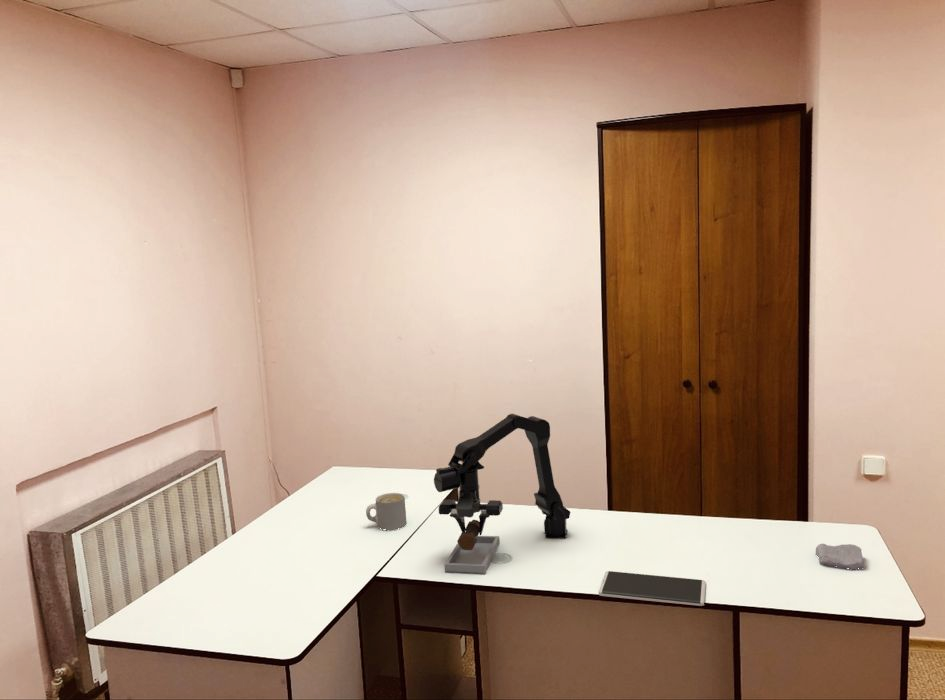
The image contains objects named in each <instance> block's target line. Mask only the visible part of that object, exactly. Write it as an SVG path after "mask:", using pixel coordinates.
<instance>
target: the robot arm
mask: <svg viewBox="0 0 945 700" xmlns="http://www.w3.org/2000/svg"><path fill="white" fill-rule="evenodd" d="M518 429H520V430H524V433H525V436H526V438H527V440H528V441H529V443H530V444H531V446H532V447H531V448H532V452H533V458H534V464H535V469H536V475H537V480H538V481H537V482H538V490H537V492H534V493H533V496H534V499H535V504H534V505H536V506H537V508H538V509H539V510H540V511H541V513H542V514H543V515H545V518H544V521H543V527H544V528H543V529H544V534H545V538H547V539H549V538H551V539H553V538H554V539H566V537H567V536H568V535H567V534H568V528H567V520H568V519H570V516H571V511H570V510H569V509H567V508H566V507H565V506H564V503H563V499H562V497H561V495H560V493H559V491H558V489H557V488H556V487H555V482H554V476H553V475H554V474H553V469H552V464H551V458H550V452H549V440H550V437H551V426H550V423H549V421H548V420H546V419H543V418H540V417H537V416H534V415H533V416H532V415H531V416H528V417H525V416H520V414H519V415H518V414H515V413H509V414H508V415H507V416H506V417H505V418H504V419H501V420H500V421H499V422H498V423H496V424H495V425H493V426H492V427H490V428H489V429H487V430H486V431H484V432H483V433H481V434H480V435H478V436H476V437H472V438H468V439H467V440H464V441H462V442H460V443H458V444H457V445H455V449H454V453H453V455H452V457H451V459H449V462H448V464H447V465H448V466H447V467H439V468H436V473H435V474H434V476H433V477H434V478H433V484H434V488H435V489H436V491H437V492H438V493H442V492H443V493H444V492H447V491H451V490H455V489H458V488H459V491H458V493H459V495H458V499H457V502H456V500H455V499H443V500H442V501H441V503H440V504H439V506H438V514H439V515H449V517H451V518H453V519H455V520H456V523H457V525H458V526H459V529H460V531H461V533H462V532H466V531H465V528H466V523H465V522H466V521H465V518H472V517H474V514H476V513H480V514H479V516H478V519H479V522H480V524H479V536H482V535H483V530H484V527H485V524H486V520H487V518H490V516H500V515H501V513H502V511H503V510H504V506H503V504H504V503H503V502H502V501H501V500H494V499H493V500H492V499H491V500H489V501H488V502H487V503H481V498H480V484H479V472H478V471H479V470H483V469H484V468H485V466H484V465H482V464H481V463H480V460H481V459H483V458H484V455H485V454H486V452H487V451H488V449H490V448H492V447H493V446H495V444H497V443H499V442H500V441H502V440H503V439H504V438H506V437H507V436H509V435H511V434H512V433H513V432H514V431H516V430H518ZM460 462H461V463H460Z"/></svg>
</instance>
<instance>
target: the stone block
mask: <svg viewBox="0 0 945 700" xmlns="http://www.w3.org/2000/svg"><path fill="white" fill-rule="evenodd" d="M816 555H817V556H818V557H819V559H818V562H819V565H821V564H826V565H825V566H827V565H830V566H829V567H832V566H837V567H836V568H838V567H842V568H841V569H843V568H849V569H848V570H850V569H858V568H859V569H861V570H863V569H862V568H864V569H865V567H864V566H865V561H864V558H863V553H862V547H860V546H858V545H855V544H847V543H846V544H839V545H829V544H826V543H820V544H818V545H817V546H816V547H815V556H816ZM817 556H816V557H817Z"/></svg>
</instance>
